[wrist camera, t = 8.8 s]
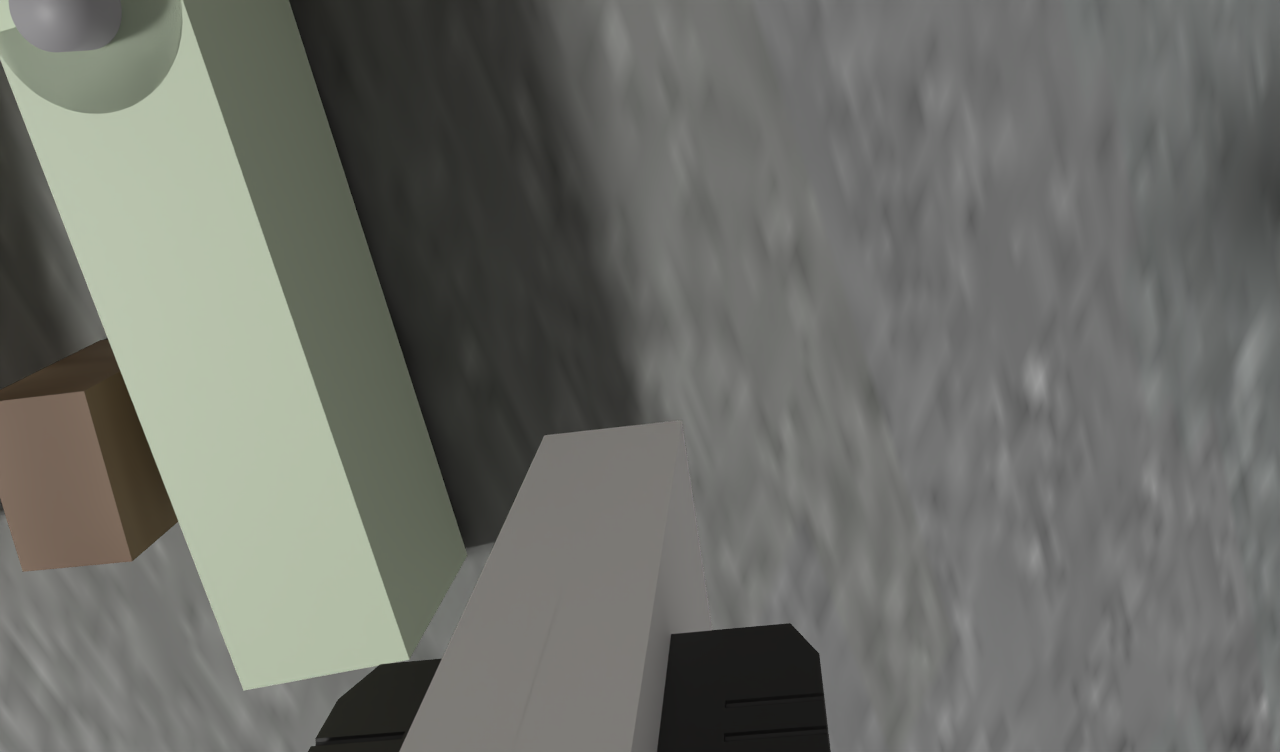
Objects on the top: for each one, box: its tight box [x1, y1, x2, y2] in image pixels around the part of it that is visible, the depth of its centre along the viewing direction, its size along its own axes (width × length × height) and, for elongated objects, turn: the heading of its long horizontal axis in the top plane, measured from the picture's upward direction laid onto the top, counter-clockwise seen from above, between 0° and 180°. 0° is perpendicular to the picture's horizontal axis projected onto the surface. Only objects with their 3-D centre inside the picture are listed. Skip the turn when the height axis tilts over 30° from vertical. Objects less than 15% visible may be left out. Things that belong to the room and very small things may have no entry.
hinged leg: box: [0, 0, 467, 690], centre depth 20 cm, size 12×3×5 cm, turn 15°
